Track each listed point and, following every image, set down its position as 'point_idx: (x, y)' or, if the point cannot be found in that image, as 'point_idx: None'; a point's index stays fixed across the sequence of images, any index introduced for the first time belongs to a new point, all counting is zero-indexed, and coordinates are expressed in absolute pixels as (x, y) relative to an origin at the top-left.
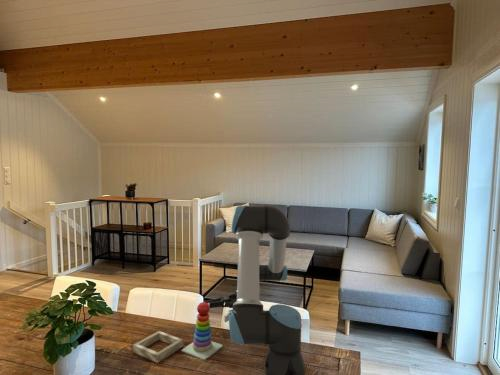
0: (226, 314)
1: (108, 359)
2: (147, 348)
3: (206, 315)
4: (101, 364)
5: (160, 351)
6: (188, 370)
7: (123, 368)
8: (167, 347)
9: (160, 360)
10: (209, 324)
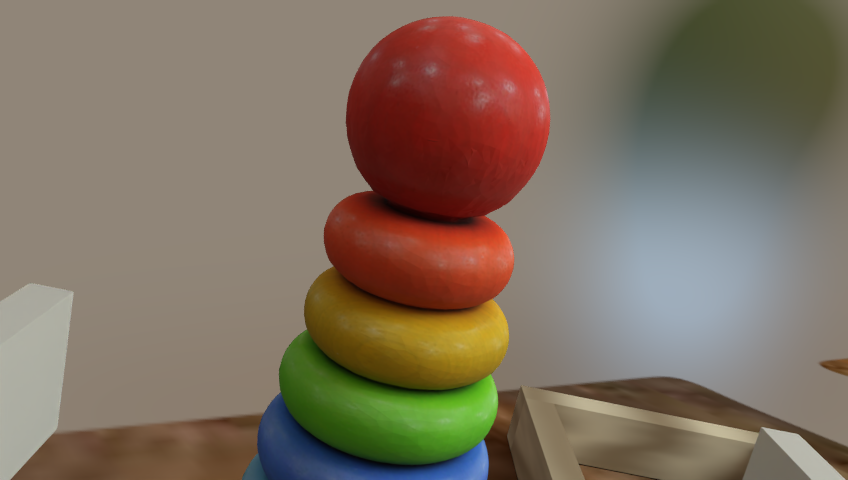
0: (35, 319)
1: (751, 424)
2: (655, 422)
3: (359, 197)
4: (720, 398)
5: (549, 412)
6: (252, 414)
7: (606, 390)
8: (559, 448)
9: (511, 446)
10: (304, 363)
